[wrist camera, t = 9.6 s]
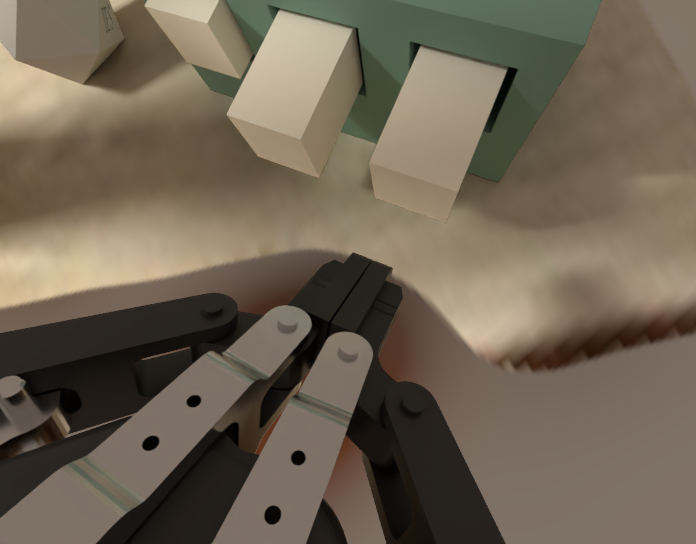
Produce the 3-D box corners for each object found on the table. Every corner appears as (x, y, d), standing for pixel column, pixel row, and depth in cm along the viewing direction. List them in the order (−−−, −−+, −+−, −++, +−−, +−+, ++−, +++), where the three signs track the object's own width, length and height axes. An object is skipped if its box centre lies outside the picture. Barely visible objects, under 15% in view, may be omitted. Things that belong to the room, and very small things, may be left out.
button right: (374, 197, 19) (368, 162, 15) (418, 98, 19) (422, 41, 16) (445, 222, 18) (457, 192, 14) (487, 118, 19) (509, 63, 15)
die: (154, 84, 29) (98, -83, 23) (28, 110, 25) (-85, -87, 18) (122, 65, 34) (68, -79, 27) (11, 83, 30) (-85, -82, 23)
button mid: (258, 156, 20) (226, 114, 16) (302, 65, 21) (281, 5, 17) (319, 178, 19) (300, 139, 16) (363, 82, 20) (355, 23, 16)
